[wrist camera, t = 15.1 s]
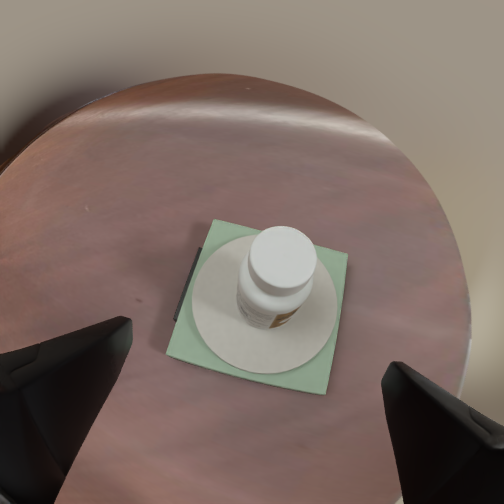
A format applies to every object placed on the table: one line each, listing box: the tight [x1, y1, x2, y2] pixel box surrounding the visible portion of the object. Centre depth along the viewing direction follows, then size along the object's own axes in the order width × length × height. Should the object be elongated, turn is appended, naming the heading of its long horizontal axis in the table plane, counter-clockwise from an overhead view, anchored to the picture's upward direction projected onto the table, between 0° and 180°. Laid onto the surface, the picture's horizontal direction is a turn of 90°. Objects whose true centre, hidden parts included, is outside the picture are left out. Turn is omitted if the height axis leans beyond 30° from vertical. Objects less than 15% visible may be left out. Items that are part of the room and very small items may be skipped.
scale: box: [166, 219, 348, 395], centre depth 22 cm, size 12×12×2 cm
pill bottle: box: [236, 226, 317, 330], centre depth 18 cm, size 4×4×8 cm
